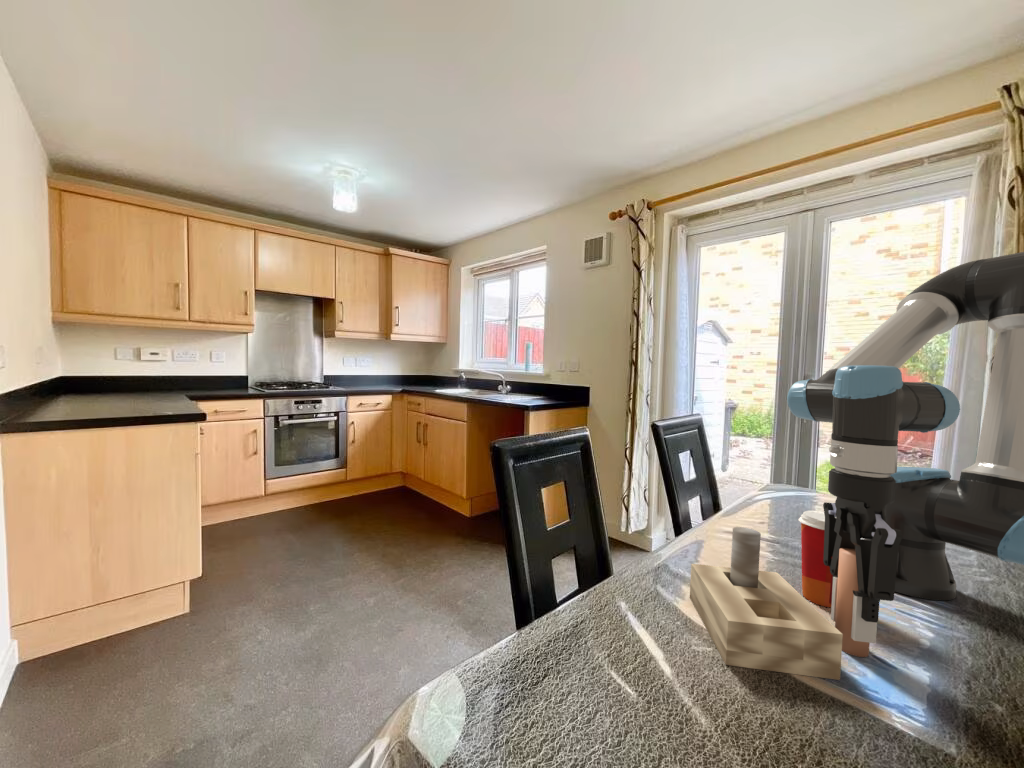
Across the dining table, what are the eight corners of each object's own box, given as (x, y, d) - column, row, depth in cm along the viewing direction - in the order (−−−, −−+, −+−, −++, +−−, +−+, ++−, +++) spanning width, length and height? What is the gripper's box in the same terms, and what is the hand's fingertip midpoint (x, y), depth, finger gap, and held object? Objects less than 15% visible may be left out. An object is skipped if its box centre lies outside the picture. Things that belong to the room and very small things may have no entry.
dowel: (857, 641, 64) (862, 549, 64) (875, 658, 60) (881, 560, 60) (828, 638, 65) (833, 546, 64) (844, 655, 61) (850, 557, 60)
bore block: (775, 607, 73) (779, 526, 73) (840, 680, 55) (846, 573, 55) (689, 597, 75) (693, 518, 75) (725, 664, 57) (731, 561, 57)
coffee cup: (840, 593, 79) (845, 513, 79) (860, 616, 71) (865, 527, 71) (788, 584, 82) (792, 507, 82) (802, 605, 74) (806, 519, 74)
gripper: (802, 458, 71) (794, 597, 71) (874, 483, 54) (863, 665, 54) (851, 462, 70) (843, 603, 70) (941, 488, 53) (929, 674, 53)
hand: (852, 630), depth 62 cm, fingers open, 4 cm apart
